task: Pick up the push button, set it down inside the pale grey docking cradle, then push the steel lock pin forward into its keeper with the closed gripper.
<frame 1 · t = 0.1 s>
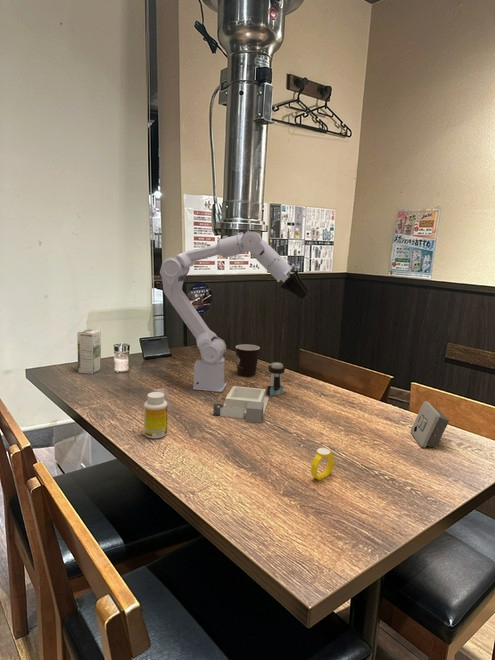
hand: (305, 294, 130), 32 cm above the table, tool tilted 50°, fingers open, 7 cm apart
electrical switch: (425, 441, 109), on the table
supplement bottle: (155, 435, 106), on the table
syrup box: (89, 371, 151), on the table
coffee mug: (246, 373, 158), on the table
dock: (245, 404, 127), on the table
push button: (276, 394, 138), on the table
lock pin: (228, 411, 119), point 1 cm above the table, slide at 0.0 cm
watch: (321, 477, 90), on the table
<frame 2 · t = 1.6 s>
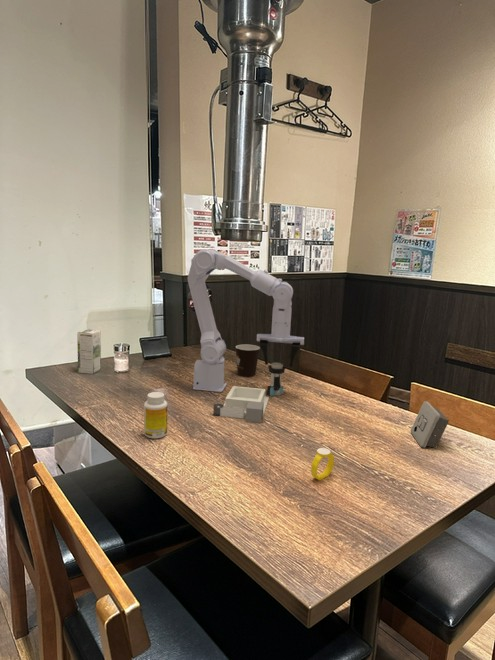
hand: (278, 364, 136), 10 cm above the table, tool pointing down, fingers open, 7 cm apart
nothing on the table moved.
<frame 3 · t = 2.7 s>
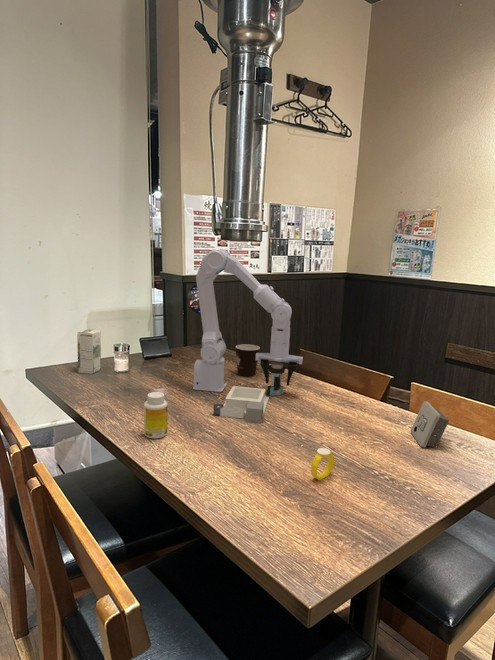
hand: (277, 383, 137), 3 cm above the table, tool pointing down, fingers open, 6 cm apart
push button: (276, 394, 138), on the table, touching gripper
everything else where it was.
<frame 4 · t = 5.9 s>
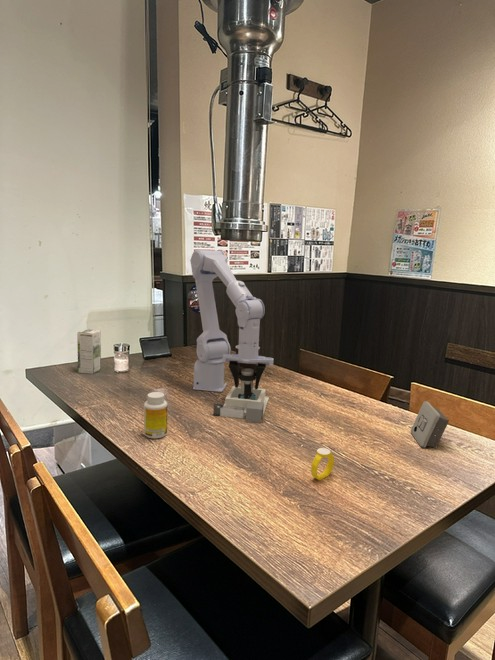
hand: (246, 387, 126), 5 cm above the table, tool pointing down, fingers closed on push button, 5 cm apart
push button: (248, 403, 128), resting on dock, touching gripper
everything else where it was.
when the fingers open (5 cm above the table, at t = 6.8 s): push button stays where it is, resting on dock.
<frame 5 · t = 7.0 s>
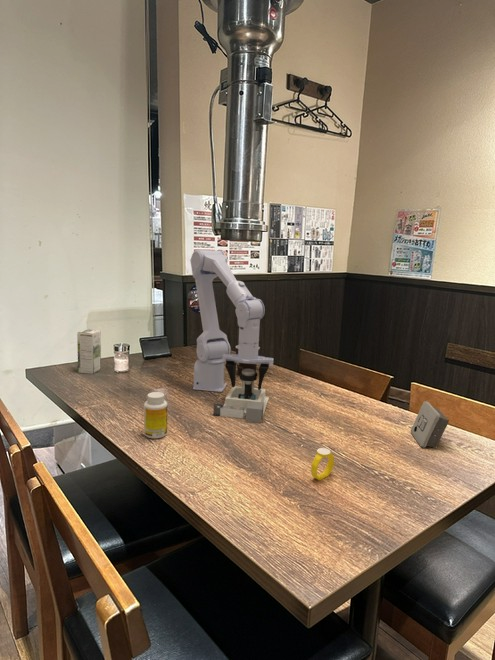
hand: (246, 387, 126), 5 cm above the table, tool pointing down, fingers open, 7 cm apart
push button: (248, 403, 128), resting on dock
everything else where it was.
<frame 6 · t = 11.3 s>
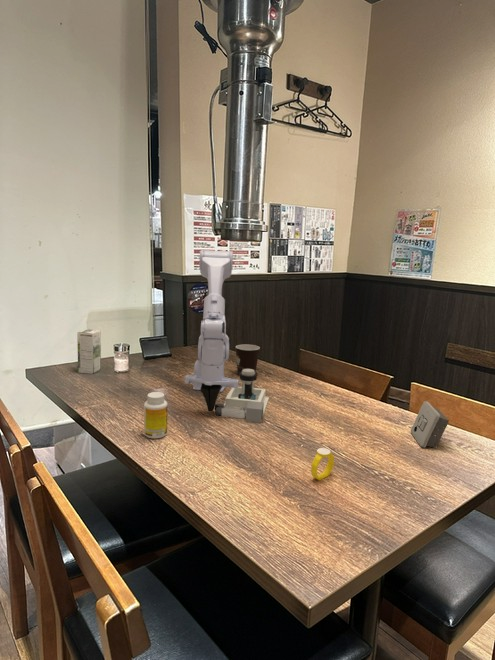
hand: (210, 410, 119), 1 cm above the table, tool pointing down, fingers closed
lock pin: (229, 411, 119), point 1 cm above the table, slide at 0.4 cm, touching gripper
everything else where it was.
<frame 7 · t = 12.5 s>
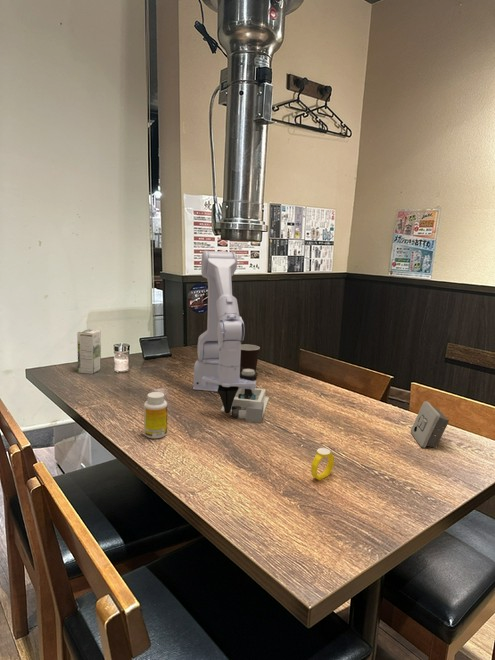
hand: (227, 412, 119), 1 cm above the table, tool pointing down, fingers closed
lock pin: (247, 413, 118), point 1 cm above the table, slide at 5.1 cm, touching gripper
everything else where it was.
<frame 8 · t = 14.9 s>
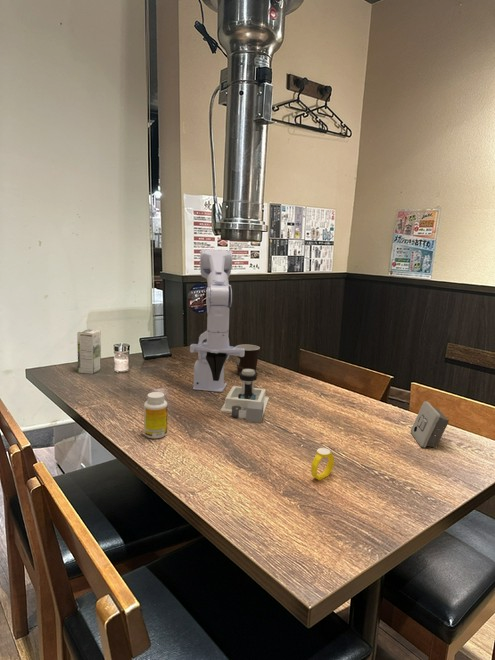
hand: (216, 379, 117), 10 cm above the table, tool pointing down, fingers closed
lock pin: (247, 413, 118), point 1 cm above the table, slide at 5.1 cm
everything else where it was.
at the end: push button inside the target area on the dock (1.1 cm from its centre), point 0.3 cm above the dock's base; push button tilted 0°; lock pin slide at 5.1 cm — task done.
